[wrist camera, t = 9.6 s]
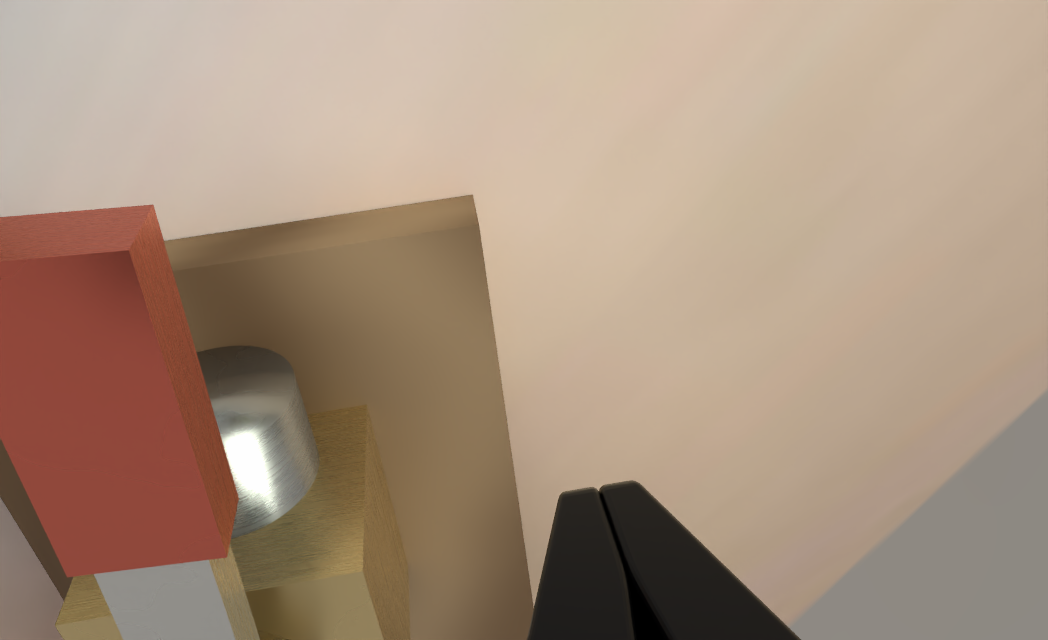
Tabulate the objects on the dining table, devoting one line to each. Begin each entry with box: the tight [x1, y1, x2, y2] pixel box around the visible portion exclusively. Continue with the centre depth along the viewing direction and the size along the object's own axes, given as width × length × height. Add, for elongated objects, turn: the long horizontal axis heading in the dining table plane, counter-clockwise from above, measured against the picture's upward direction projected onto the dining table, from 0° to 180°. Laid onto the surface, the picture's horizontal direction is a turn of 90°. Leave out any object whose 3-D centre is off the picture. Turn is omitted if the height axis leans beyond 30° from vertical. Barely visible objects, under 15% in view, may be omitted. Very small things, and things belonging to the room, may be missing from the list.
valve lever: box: [0, 205, 260, 640], centre depth 13 cm, size 12×3×1 cm, turn 2°
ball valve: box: [55, 346, 411, 640], centre depth 19 cm, size 6×10×6 cm, turn 6°
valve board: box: [0, 195, 534, 640], centre depth 22 cm, size 12×14×2 cm
